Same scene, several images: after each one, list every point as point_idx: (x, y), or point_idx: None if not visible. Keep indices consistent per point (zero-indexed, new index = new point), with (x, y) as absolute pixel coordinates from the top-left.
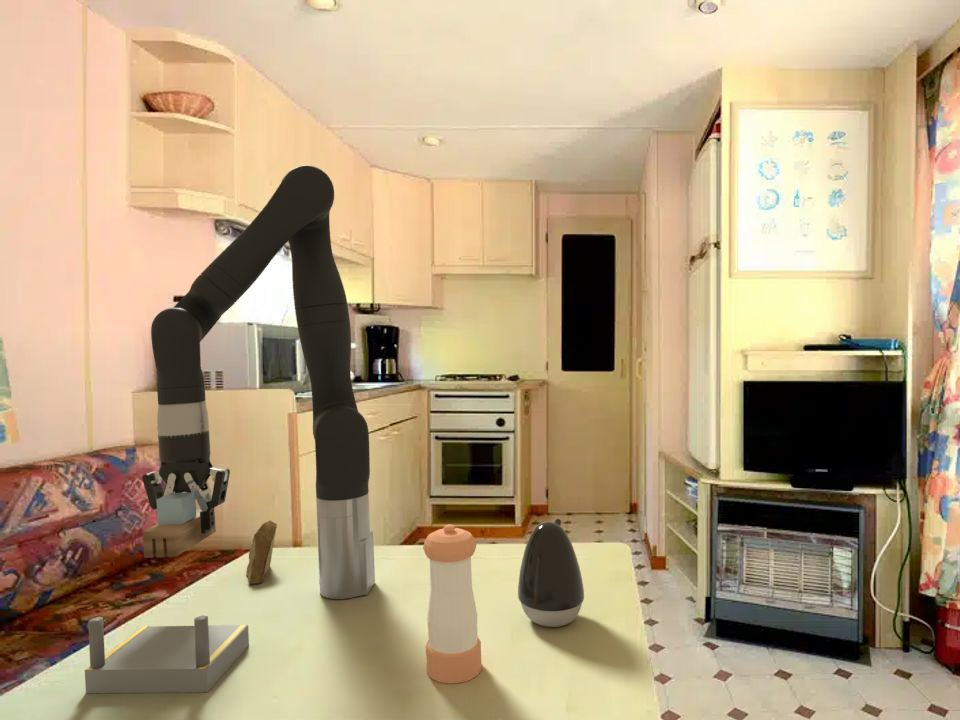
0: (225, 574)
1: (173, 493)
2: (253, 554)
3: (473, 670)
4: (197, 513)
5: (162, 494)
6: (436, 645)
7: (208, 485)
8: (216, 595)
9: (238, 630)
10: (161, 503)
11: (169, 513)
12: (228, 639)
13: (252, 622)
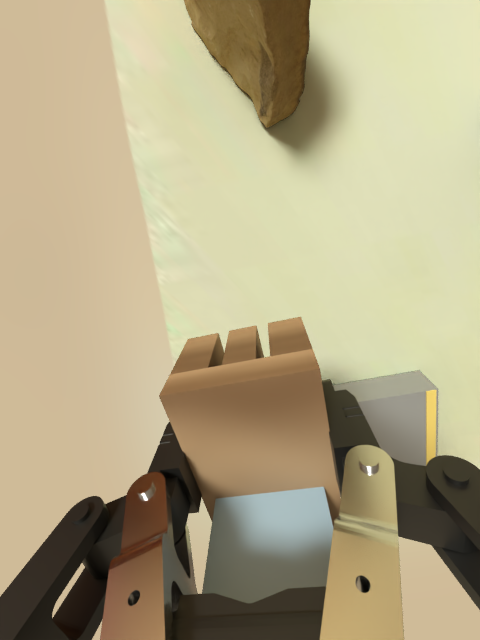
0: (143, 62)
1: None
2: (238, 21)
3: None
4: (288, 448)
5: (68, 580)
6: None
7: (400, 600)
8: (228, 206)
9: (431, 408)
10: None
11: None
12: (429, 431)
13: (384, 303)
